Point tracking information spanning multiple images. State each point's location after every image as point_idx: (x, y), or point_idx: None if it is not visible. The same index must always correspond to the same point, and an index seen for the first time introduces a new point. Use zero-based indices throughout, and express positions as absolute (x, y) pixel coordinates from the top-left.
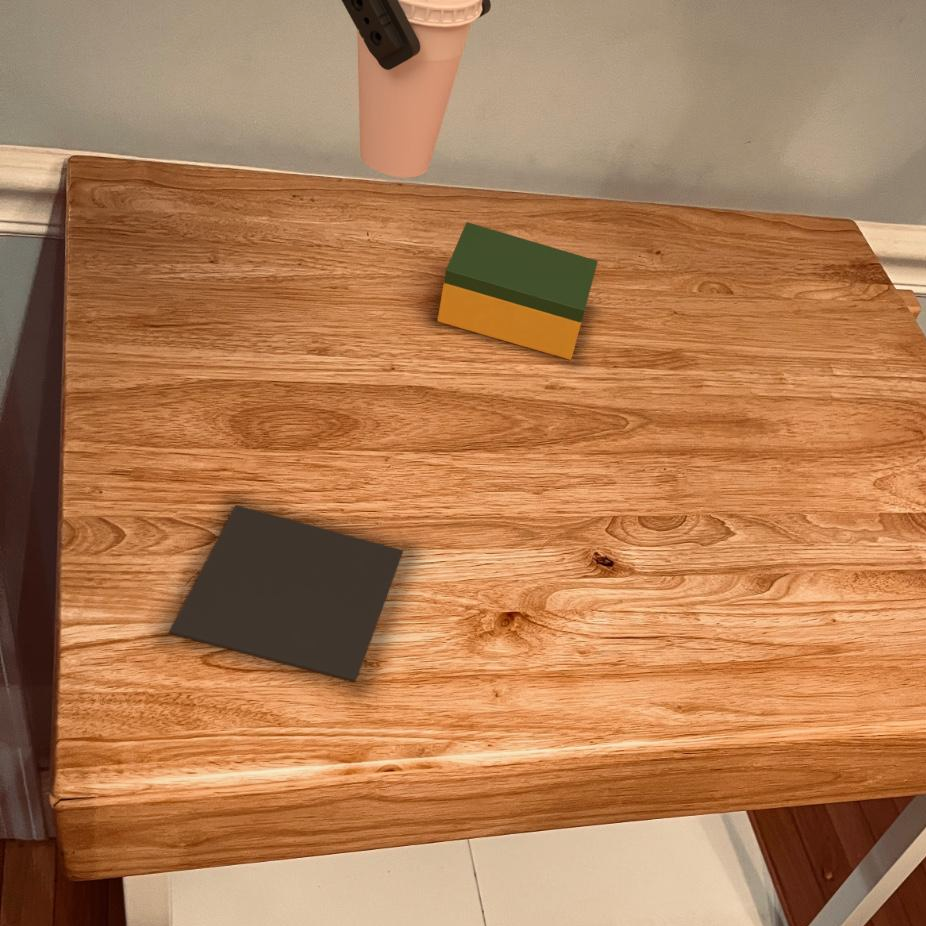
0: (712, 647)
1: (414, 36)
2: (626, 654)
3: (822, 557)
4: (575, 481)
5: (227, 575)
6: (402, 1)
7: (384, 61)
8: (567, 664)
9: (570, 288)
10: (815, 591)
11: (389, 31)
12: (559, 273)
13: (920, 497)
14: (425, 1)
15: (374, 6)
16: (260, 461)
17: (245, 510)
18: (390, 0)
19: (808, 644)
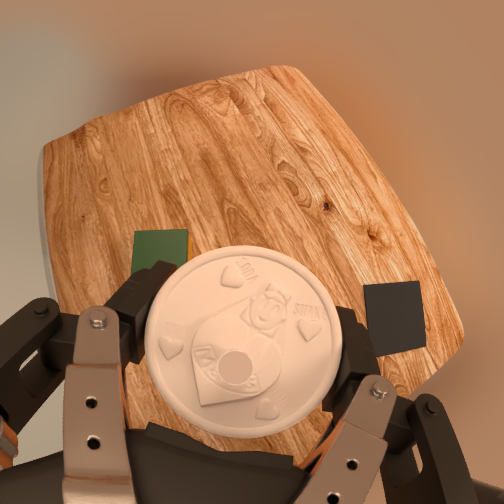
0: (345, 167)
1: (343, 312)
2: (364, 194)
3: (278, 131)
4: (285, 224)
5: (401, 341)
6: (341, 335)
7: None
8: (379, 213)
9: (169, 240)
10: (298, 134)
11: (364, 337)
12: (157, 248)
13: (224, 103)
14: (321, 308)
15: (373, 359)
16: None
17: None
18: (359, 346)
19: (325, 138)
